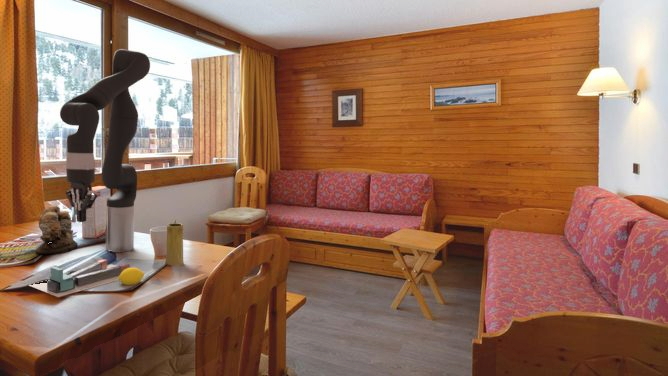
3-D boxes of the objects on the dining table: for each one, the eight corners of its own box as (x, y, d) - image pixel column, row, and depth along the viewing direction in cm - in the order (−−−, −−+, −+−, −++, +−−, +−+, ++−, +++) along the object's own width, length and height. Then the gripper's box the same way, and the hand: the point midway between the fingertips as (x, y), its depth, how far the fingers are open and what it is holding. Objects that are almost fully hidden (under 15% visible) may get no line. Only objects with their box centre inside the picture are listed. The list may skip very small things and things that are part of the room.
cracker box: (97, 231, 182) (97, 185, 179) (111, 231, 182) (111, 186, 180) (80, 238, 168) (80, 189, 165) (95, 238, 168) (95, 189, 166)
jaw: (73, 284, 115) (73, 275, 115) (67, 283, 116) (67, 274, 115) (107, 267, 131) (107, 259, 131) (102, 267, 131) (102, 259, 131)
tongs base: (56, 293, 109) (56, 283, 108) (47, 290, 111) (47, 280, 110) (130, 272, 128) (130, 264, 128) (121, 270, 130) (121, 261, 130)
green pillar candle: (177, 267, 138) (177, 227, 136) (161, 265, 139) (162, 225, 137) (187, 262, 144) (187, 224, 142) (171, 260, 145) (172, 222, 143)
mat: (28, 287, 113) (28, 285, 113) (112, 265, 135) (112, 264, 135) (58, 299, 106) (58, 297, 106) (141, 274, 129) (141, 273, 128)
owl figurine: (63, 256, 143) (62, 209, 141) (26, 256, 140) (24, 209, 138) (83, 243, 160) (83, 201, 158) (50, 243, 158) (49, 201, 156)
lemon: (118, 290, 116) (115, 272, 116) (122, 283, 122) (119, 266, 121) (143, 286, 118) (141, 268, 118) (146, 279, 123) (144, 263, 123)
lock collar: (61, 291, 109) (60, 270, 108) (49, 286, 112) (49, 266, 111) (73, 288, 112) (73, 268, 111) (61, 283, 114) (61, 264, 114)
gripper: (55, 166, 125) (56, 220, 126) (81, 169, 119) (82, 226, 121) (80, 165, 131) (80, 217, 133) (105, 168, 125) (106, 222, 127)
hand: (81, 221), depth 127 cm, fingers closed
